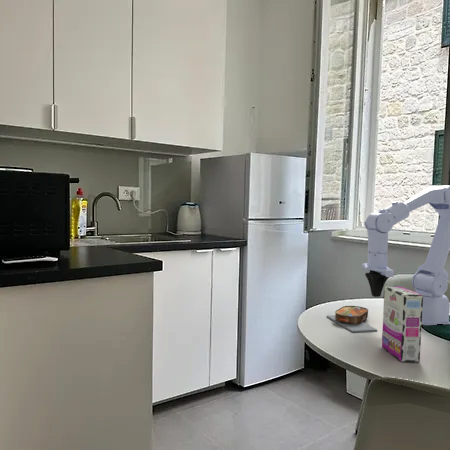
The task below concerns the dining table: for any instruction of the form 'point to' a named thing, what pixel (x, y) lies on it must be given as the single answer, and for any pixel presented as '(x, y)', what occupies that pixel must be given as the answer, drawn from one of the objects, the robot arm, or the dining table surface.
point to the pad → (353, 326)
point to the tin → (351, 314)
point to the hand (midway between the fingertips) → (376, 296)
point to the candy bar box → (402, 323)
